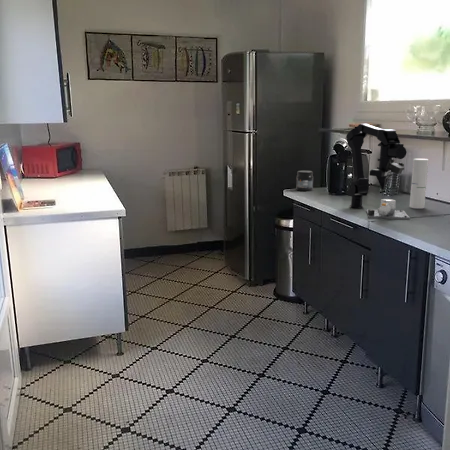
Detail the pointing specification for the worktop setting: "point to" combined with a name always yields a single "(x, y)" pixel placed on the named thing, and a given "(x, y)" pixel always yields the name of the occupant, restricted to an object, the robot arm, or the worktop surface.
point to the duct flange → (397, 215)
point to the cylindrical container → (419, 183)
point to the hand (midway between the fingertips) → (383, 189)
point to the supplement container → (304, 181)
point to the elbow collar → (386, 207)
